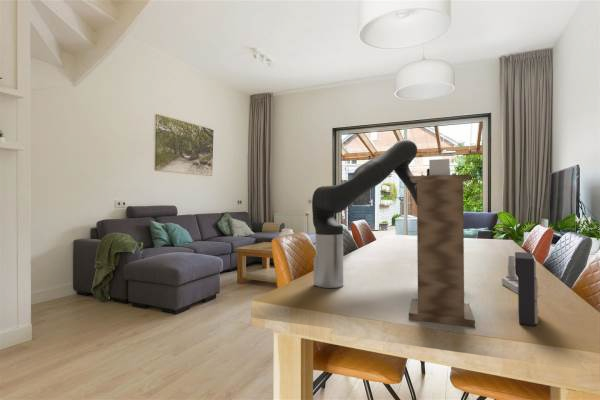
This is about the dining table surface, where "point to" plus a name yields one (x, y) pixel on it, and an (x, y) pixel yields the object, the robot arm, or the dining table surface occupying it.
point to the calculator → (527, 288)
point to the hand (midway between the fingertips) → (438, 169)
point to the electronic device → (511, 276)
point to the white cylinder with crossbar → (439, 167)
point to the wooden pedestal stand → (440, 251)
